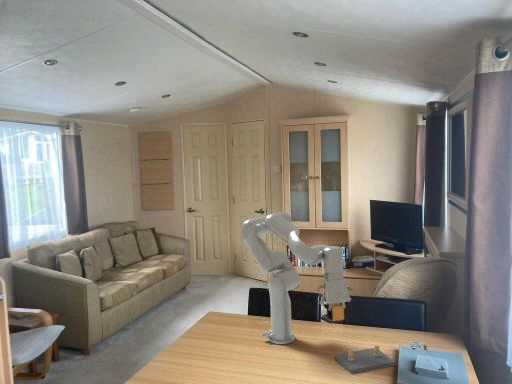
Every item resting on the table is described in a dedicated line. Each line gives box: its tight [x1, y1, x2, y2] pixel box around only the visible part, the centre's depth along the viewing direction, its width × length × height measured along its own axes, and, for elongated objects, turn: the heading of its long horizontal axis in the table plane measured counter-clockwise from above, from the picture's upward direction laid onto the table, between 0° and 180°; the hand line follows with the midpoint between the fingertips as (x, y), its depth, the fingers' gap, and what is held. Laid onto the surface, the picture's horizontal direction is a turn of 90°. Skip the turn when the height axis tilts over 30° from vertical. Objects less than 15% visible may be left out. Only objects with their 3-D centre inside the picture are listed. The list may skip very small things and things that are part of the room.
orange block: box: [331, 303, 345, 322], centre depth 174 cm, size 5×5×6 cm
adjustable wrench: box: [408, 339, 425, 349], centre depth 171 cm, size 25×6×2 cm, turn 177°
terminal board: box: [333, 344, 397, 374], centre depth 167 cm, size 20×14×6 cm
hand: (336, 317), depth 174 cm, fingers closed on orange block, 4 cm apart
